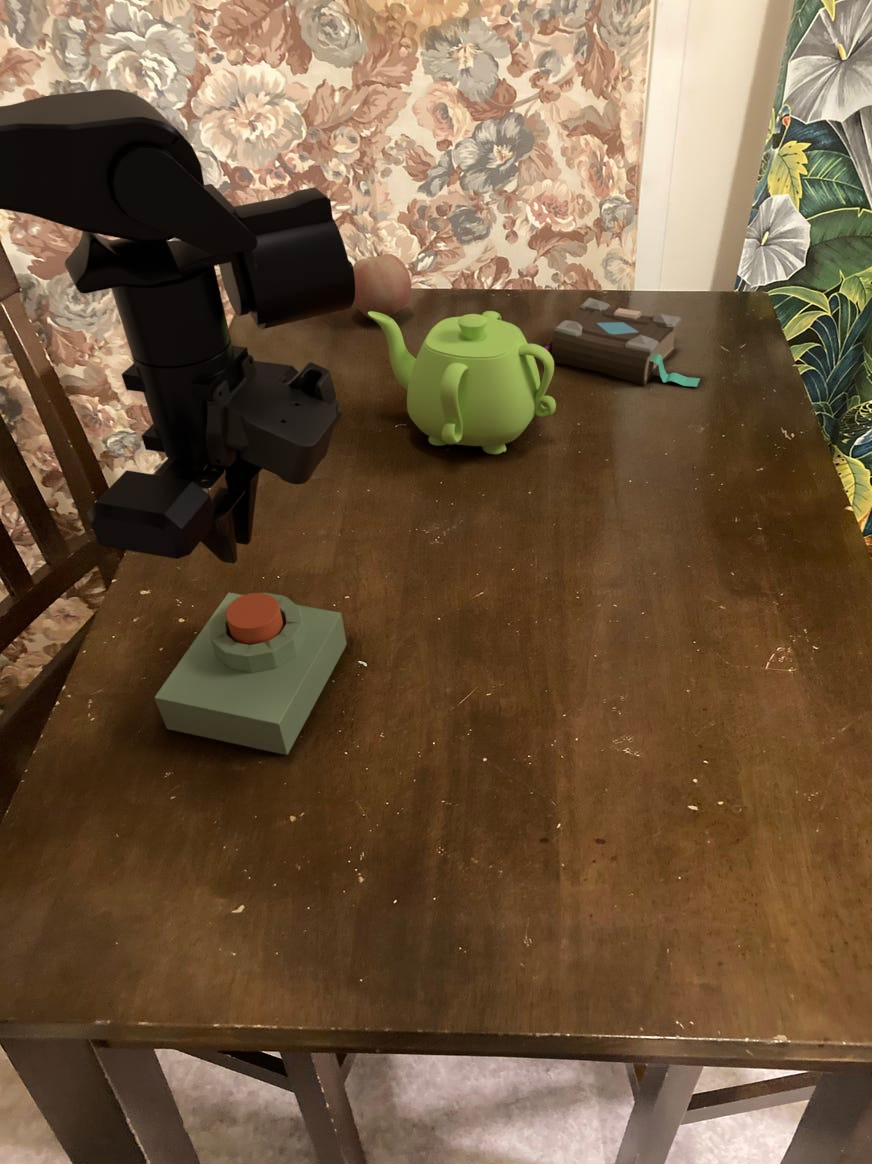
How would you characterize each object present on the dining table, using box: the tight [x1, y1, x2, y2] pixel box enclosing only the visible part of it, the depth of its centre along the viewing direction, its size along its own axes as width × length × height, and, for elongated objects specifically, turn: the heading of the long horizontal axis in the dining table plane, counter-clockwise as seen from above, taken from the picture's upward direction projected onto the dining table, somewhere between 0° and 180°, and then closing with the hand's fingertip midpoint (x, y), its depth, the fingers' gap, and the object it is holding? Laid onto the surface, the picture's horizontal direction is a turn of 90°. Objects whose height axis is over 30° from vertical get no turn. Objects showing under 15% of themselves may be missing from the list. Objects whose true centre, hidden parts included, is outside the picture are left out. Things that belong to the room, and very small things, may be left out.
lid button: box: [226, 592, 283, 645], centre depth 68 cm, size 4×4×2 cm
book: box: [543, 297, 701, 388], centre depth 107 cm, size 20×12×5 cm, turn 60°
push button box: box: [153, 592, 347, 756], centre depth 69 cm, size 12×10×6 cm
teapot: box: [368, 310, 557, 455], centre depth 93 cm, size 16×14×13 cm
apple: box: [352, 253, 412, 321], centre depth 115 cm, size 8×8×8 cm
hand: (236, 551), depth 63 cm, fingers closed
